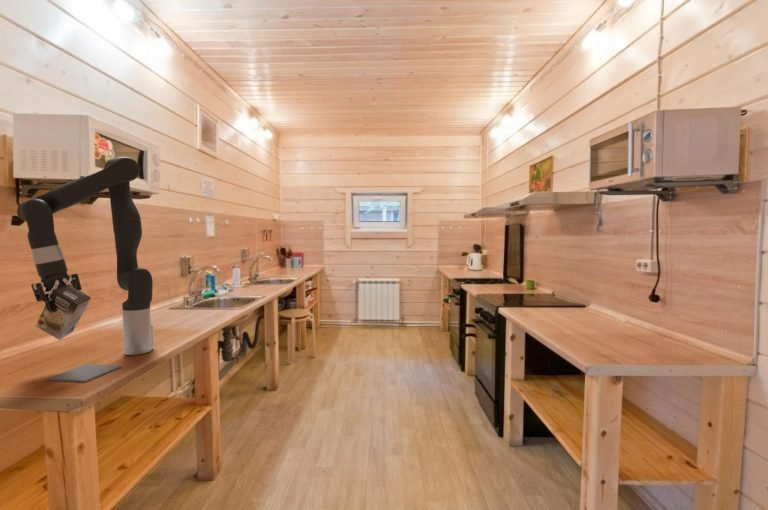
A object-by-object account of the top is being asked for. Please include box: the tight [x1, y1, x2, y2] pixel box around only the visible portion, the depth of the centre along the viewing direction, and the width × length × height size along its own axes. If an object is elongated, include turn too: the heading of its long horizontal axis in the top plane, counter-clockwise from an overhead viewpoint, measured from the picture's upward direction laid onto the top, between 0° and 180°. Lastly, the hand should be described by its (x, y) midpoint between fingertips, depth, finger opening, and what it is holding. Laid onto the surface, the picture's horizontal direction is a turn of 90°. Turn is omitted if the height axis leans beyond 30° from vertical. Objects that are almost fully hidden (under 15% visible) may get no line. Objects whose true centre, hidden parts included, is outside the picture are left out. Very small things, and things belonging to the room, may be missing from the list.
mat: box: [46, 363, 122, 383], centre depth 130 cm, size 14×14×1 cm
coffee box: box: [35, 283, 92, 340], centre depth 131 cm, size 9×6×16 cm
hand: (64, 308), depth 131 cm, fingers closed on coffee box, 7 cm apart
